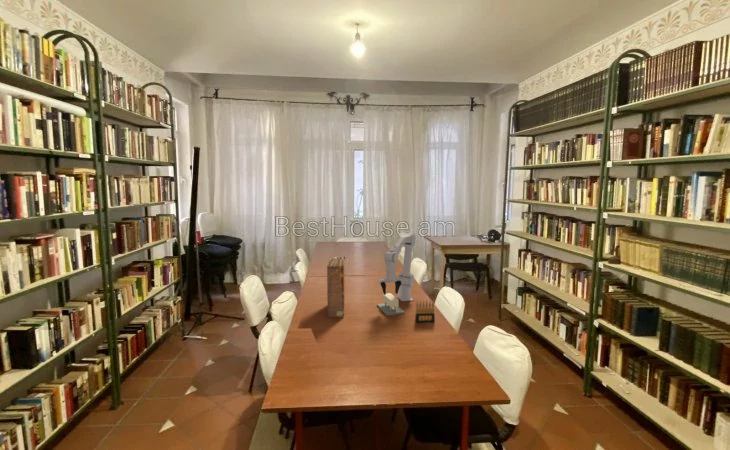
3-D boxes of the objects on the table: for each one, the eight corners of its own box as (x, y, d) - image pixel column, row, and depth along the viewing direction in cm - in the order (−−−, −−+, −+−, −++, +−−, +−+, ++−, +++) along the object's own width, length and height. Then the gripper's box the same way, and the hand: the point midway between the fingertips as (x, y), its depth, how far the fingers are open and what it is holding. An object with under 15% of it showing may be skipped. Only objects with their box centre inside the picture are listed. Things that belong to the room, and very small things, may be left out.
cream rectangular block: (382, 299, 236) (382, 293, 235) (390, 299, 237) (390, 293, 236) (390, 307, 222) (390, 300, 222) (398, 306, 224) (398, 299, 223)
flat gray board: (377, 305, 237) (377, 299, 237) (393, 304, 240) (393, 297, 240) (386, 315, 220) (386, 308, 220) (404, 313, 223) (404, 306, 223)
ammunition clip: (415, 322, 209) (416, 301, 208) (414, 321, 211) (415, 300, 210) (434, 322, 210) (435, 301, 209) (433, 321, 212) (434, 300, 210)
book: (330, 303, 241) (329, 257, 238) (344, 303, 242) (344, 257, 238) (327, 318, 216) (327, 266, 213) (343, 317, 216) (343, 266, 213)
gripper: (381, 274, 222) (381, 296, 223) (404, 272, 226) (404, 294, 227) (377, 271, 228) (377, 293, 230) (400, 269, 232) (399, 291, 234)
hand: (390, 293), depth 229 cm, fingers open, 7 cm apart
